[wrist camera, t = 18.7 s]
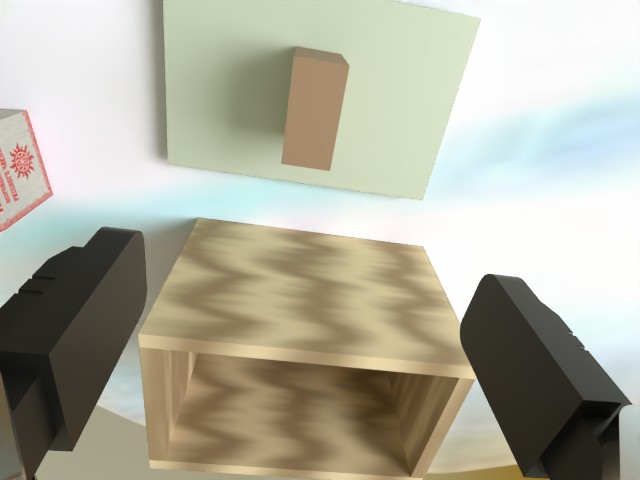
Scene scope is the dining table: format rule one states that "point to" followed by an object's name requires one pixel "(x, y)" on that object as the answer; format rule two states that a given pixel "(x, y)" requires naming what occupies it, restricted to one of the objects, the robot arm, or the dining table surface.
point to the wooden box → (300, 357)
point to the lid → (313, 89)
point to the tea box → (19, 168)
